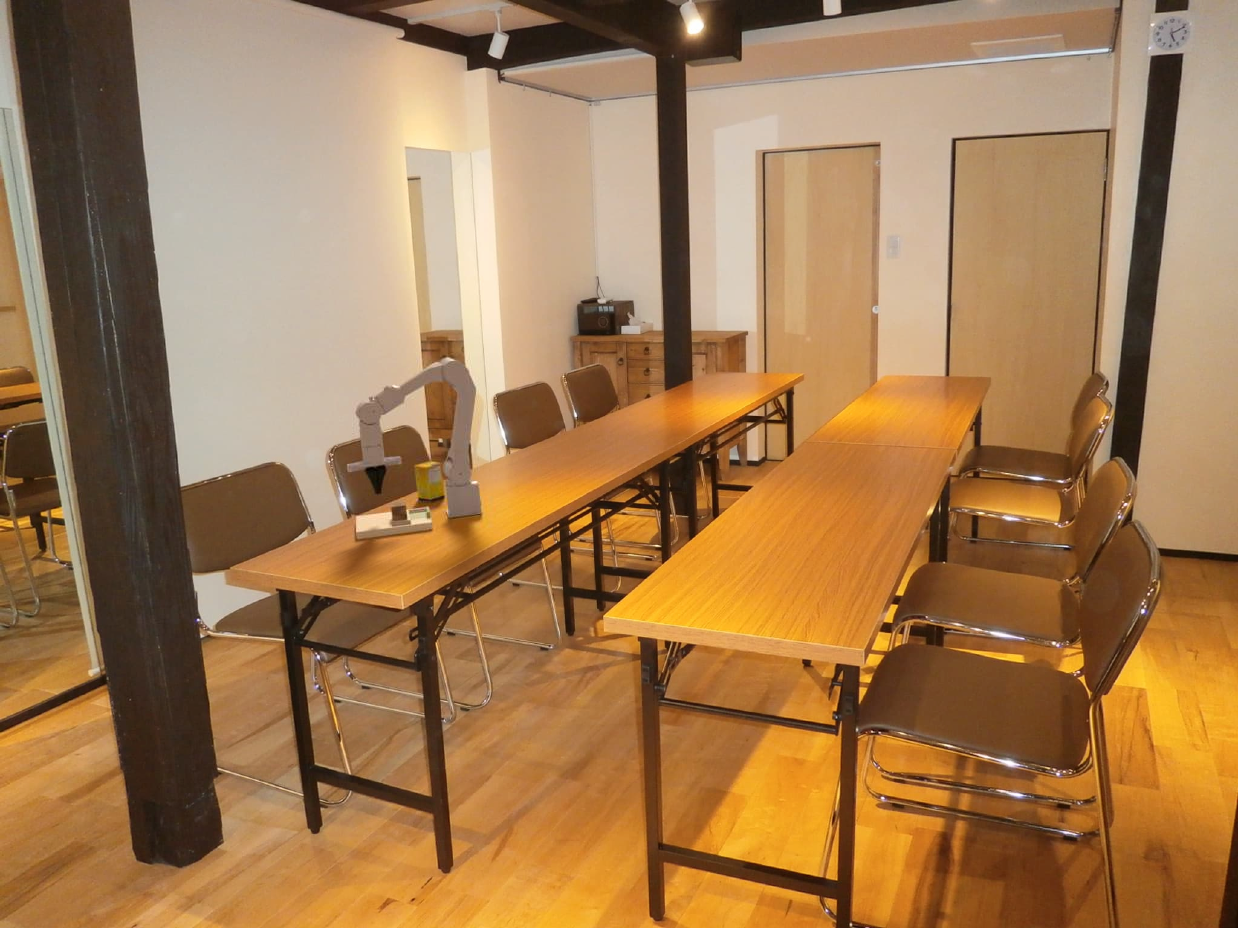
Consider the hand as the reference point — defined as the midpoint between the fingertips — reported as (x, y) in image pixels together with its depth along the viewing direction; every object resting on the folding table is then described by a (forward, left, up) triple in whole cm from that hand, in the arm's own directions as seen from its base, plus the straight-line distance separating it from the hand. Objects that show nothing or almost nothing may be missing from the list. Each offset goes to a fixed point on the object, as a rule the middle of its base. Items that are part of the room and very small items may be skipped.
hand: (378, 493), depth 268 cm
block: (-5, +1, -8) cm, 9 cm away
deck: (-3, +1, -10) cm, 10 cm away
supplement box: (-15, -24, -10) cm, 30 cm away
